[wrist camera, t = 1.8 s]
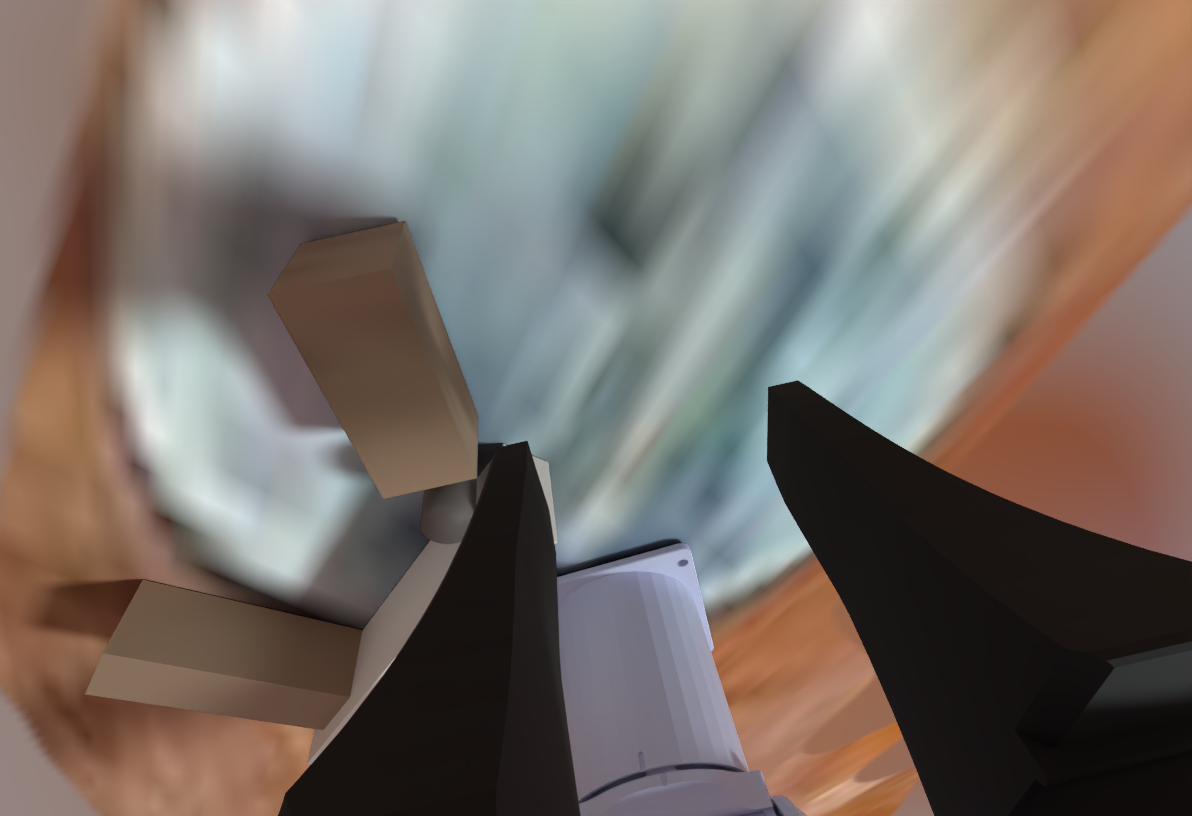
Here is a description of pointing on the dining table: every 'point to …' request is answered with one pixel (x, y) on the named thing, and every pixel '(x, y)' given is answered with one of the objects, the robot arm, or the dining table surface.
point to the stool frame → (267, 649)
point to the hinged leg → (386, 368)
